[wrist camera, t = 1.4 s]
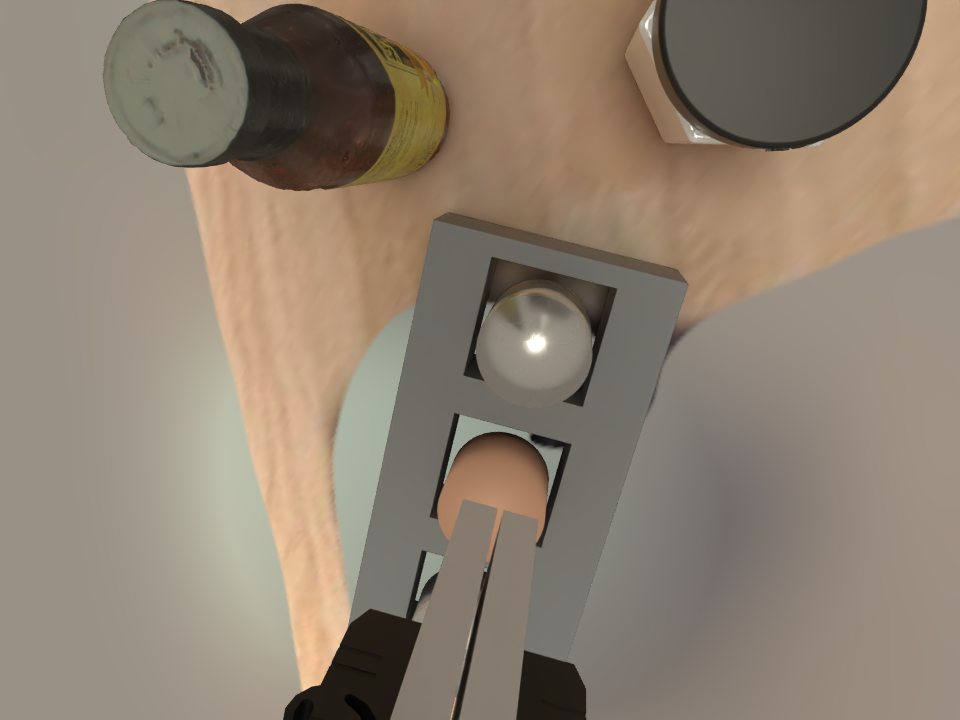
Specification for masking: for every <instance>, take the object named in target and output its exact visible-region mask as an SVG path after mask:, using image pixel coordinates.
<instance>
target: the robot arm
mask: <svg viewBox="0 0 960 720" xmlns="http://www.w3.org/2000/svg"><path fill="white" fill-rule="evenodd" d="M497 511H498V508H495V507H492V506H488V505H484V504H481V503H477V502H473V501H470V500H466V499H463V501H462V504H461V507H460V510H459V513H458V516H457V519H456V522H455V525H454V528H453V531H452V535H451V538H450V541H449V544H448V547H447V550H446V553H445V556H444V559H443V562H442V565H441V568H440V571H439V574H438V577H437V580H436V583H435V586H434V589H433V592H432V595H431V598H430V601H429V604H428V607H427V610H426V613H425V616H424V619H423V622H422V623H420V622H416V621H413V620H409V619H406V618H402V617H399V616H395V615H392V614H388V613H385V612H381V611H378V610H374V609H371V608H370V609H369V610H368V611H366V612H365V613H363V614H362V615H361V616H359V617H358V618H357V619H355V620H354V621H353V622H351V623H350V625H349V627H348V629H347V631H346V633H345V635H344V637H343V640H342V642H341V644H340V647H339V648H338V650H337V652H336V654H335V656H334V658H333V660H332V663H331V666H330V667H329V669H328V671H327V673H326V675H325V677H324V679H323V681H322V683H321V685H319V686H313V687H310V688H309V689H307V690H305V691H303V692H301V693H300V694H297V695H296V696H295V697H294V698H293V699H292V701H291V702H290V703H289V704H288V705H287V707H286V708H285V713H284V718H283V720H450V718H451V713H452V709H453V704H454V700H455V696H456V691H457V687H458V682H459V678H460V674H461V669H462V665H463V660H464V656H465V652H466V647H467V643H468V638H469V634H470V629H471V625H472V621H473V616H474V612H475V607H476V603H477V599H478V594H479V590H480V585H481V581H482V577H483V572H484V568H485V563H486V559H487V555H488V550H489V546H490V541H491V537H492V533H493V528H494V524H495V519H496V515H497ZM538 520H539V519H535V518H532V517H528V516H524V515H521V514H517V513H513V512H510V511H506V510H503V514H502V518H501V521H500V525H499V529H498V532H497V536H496V540H495V544H494V547H493V551H492V555H491V558H490V562H489V566H488V569H487V573H486V577H485V580H484V584H483V588H482V591H481V595H480V599H479V602H478V606H477V610H476V614H475V617H474V622H473V626H472V631H471V635H470V640H469V644H468V649H467V653H466V657H465V662H464V666H463V671H462V675H461V680H460V684H459V689H458V693H457V698H456V702H455V706H454V711H453V715H452V720H586V717H585V715H586V688H585V686H584V684H583V682H582V680H581V678H580V676H579V673H578V671H577V669H576V668H575V665H574V664H571V663H568V662H564V661H561V660H557V659H554V658H550V657H547V656H543V655H539V654H536V653H532V652H529V651H525V650H524V645H525V636H526V627H527V618H528V609H529V600H530V591H531V582H532V573H533V564H534V556H535V547H536V538H537V529H538Z"/></svg>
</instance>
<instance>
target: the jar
mask: <svg viewBox="0 0 960 720" xmlns="http://www.w3.org/2000/svg"><path fill="white" fill-rule="evenodd" d="M926 10H927V0H653V2H652V4H651V5H650V7H649V8H648V10H647V12H646V13H645V15H644V16H643V18H642V19H641V21H640V23H639V25H638V27H637V29H636V31H635V33H634V35H633V38H632V40H631V42H630V44H629V46H628V48H627V50H626V52H625V59H626V61H627V63H628V65H629V67H630V70H631V72H632V74H633V76H634V78H635V81H636V83H637V85H638V87H639V89H640V91H641V94H642V96H643V98H644V100H645V102H646V105H647V107H648V109H649V111H650V113H651V115H652V118H653V120H654V122H655V124H656V126H657V129H658V131H659V133H660V135H661V137H662V139H663V141H664V142H665V143H667V144H693V145H723V146H737V147H743V148H752V149H765V151H785V150H789V148H791V149H795V148H801V147H818V146H820V145H821V144H822V143H823V142H824V140H825V139H827V138H830V137H832V136H834V135H836V134H838V133H840V132H842V131H844V130H846V129H847V128H849V127H851V126H852V125H854V124H855V123H857V122H858V121H859V120H861V119H862V118H864V117H865V116H866V115H867V114H868V113H870V112H871V111H872V110H873V109H874V108H875V107H876V106H877V105H878V104H879V103H880V102H881V101H882V100H883V99H884V98H885V97H886V96H887V95H888V94H889V93H890V91H891V90H892V89H893V88H894V87H895V85H896V84H897V82H898V81H899V79H900V78H901V77H902V75H903V73H904V72H905V70H906V68H907V66H908V65H909V63H910V61H911V59H912V57H913V55H914V52H915V50H916V48H917V45H918V42H919V40H920V37H921V33H922V30H923V26H924V22H925V16H926Z"/></svg>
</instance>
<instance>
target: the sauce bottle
mask: <svg viewBox="0 0 960 720" xmlns="http://www.w3.org/2000/svg"><path fill="white" fill-rule="evenodd" d="M103 81H104V88H105V94H106V98H107V103H108V106H109V108H110V111H111V113H112V115H113V117H114V119H115V121H116V123H117V125H118V126H119V128H120V129H121V130H122V131H123V133H124V134H125V135H126V136H127V138H128V140H129V141H130V143H131V144H132V145H134V146H136V147H137V148H138V149H139V150H140V151H141V152H142V153H144V154H146V155H147V156H149V157H151V158H152V159H154V160H156V161H159V162H161V163H164V164H167V165H170V166H174V167H186V168H194V167H209V166H215V165H220V164H225V163H227V162H230V163H231V164H232V165H233V166H235V167H236V168H238V169H239V170H241V171H243V172H244V173H245V174H247V175H249V176H250V177H252V178H254V179H256V180H257V181H259V182H262V183H265V184H267V185H269V186H272V187H275V188H278V189H283V190H285V189H288V190H294V191H301V190H304V191H310V190H313V189H319V188H322V189H324V190H327V189H335V188H341V187H348V186H353V185H360V184H367V183H373V182H379V181H385V180H391V179H395V178H399V177H403V176H406V175H408V174H410V173H413V172H414V171H416V170H418V169H419V168H421V167H422V166H423V165H424V164H425V163H427V162H428V161H429V160H431V159H432V158H433V157H434V156H435V154H436V153H437V152H438V151H439V148H440V146H441V144H442V142H443V139H444V137H445V134H446V131H447V127H448V122H449V113H450V111H449V104H448V98H447V96H446V93H445V91H444V88H443V86H442V85H441V82H440V81H439V80H438V78H437V75H436V73H435V71H434V70H433V69H432V68H431V66H430V65H429V64H428V63H427V62H426V61H425V60H424V59H422V58H421V57H420V56H419V55H418V54H416V53H415V52H413V51H411V50H410V49H408V48H406V47H403V46H401V45H399V44H397V43H395V42H393V41H391V40H388V39H387V38H385V37H383V36H380V35H378V34H376V33H374V32H372V31H370V30H369V29H366V28H364V27H362V26H358V25H356V24H354V23H352V22H350V21H348V20H345V19H344V18H342V17H340V16H337V15H334V14H332V13H330V12H327V11H325V10H322V9H320V8H317V7H313V6H309V5H304V4H284V5H278V6H275V7H272V8H269V9H267V10H265V11H263V12H262V13H260V14H258V15H256V16H255V17H253V18H251V19H249V20H247V21H245V22H244V23H242V24H240V23H239V22H238V21H236V20H235V19H234V18H233V17H231V16H230V15H228V14H226V13H224V12H223V11H221V10H218V9H215V8H212V7H210V6H207V5H203V4H197V3H193V2H190V1H184V0H156V1H153V2H150V3H147V4H144V5H143V6H141V7H140V8H138V9H137V10H135V11H133V12H132V13H131V14H130V15H128V16H127V17H125V18H124V19H123V20H122V22H121V23H120V25H119V27H118V28H117V30H116V31H115V33H114V35H113V37H112V39H111V41H110V43H109V46H108V49H107V51H106V54H105V59H104V72H103Z"/></svg>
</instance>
